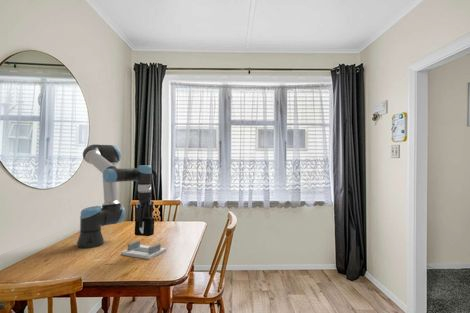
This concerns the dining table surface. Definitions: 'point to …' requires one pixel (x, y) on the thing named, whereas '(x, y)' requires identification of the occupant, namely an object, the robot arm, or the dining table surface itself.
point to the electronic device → (145, 227)
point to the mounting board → (143, 250)
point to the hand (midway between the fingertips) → (144, 232)
